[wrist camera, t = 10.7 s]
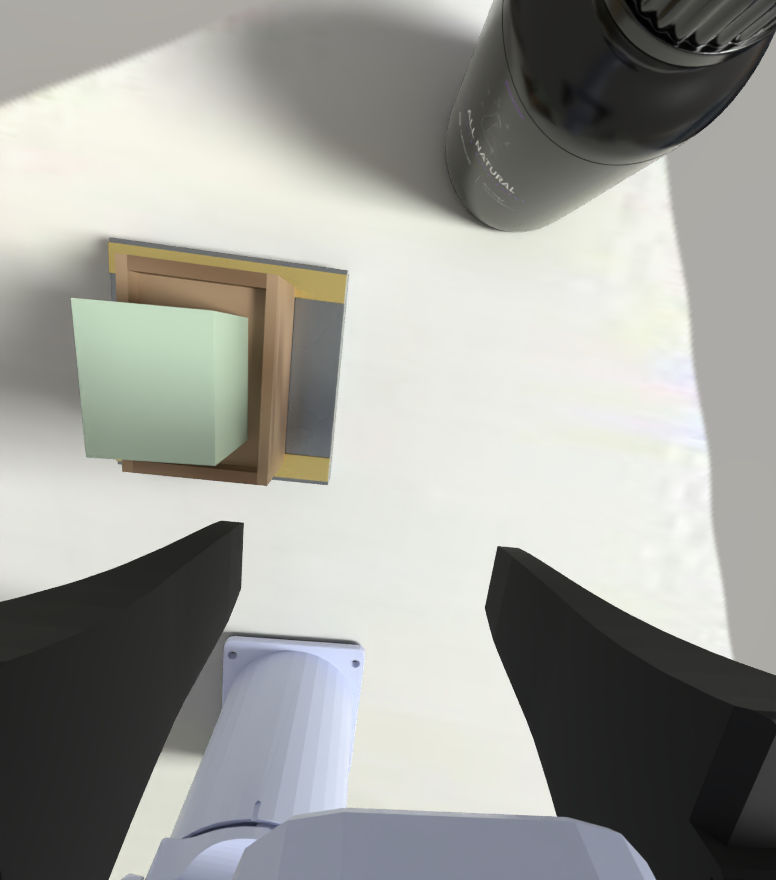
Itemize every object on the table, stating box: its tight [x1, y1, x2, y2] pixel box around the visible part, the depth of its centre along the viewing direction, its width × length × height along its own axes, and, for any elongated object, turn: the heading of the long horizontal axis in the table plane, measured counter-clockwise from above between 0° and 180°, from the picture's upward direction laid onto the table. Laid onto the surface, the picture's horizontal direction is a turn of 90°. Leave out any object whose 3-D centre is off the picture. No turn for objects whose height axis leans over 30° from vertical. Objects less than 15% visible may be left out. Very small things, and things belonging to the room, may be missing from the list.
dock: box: [108, 237, 349, 485], centre depth 19 cm, size 10×10×1 cm
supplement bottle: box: [446, 0, 776, 232], centre depth 12 cm, size 7×7×12 cm
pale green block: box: [71, 298, 248, 466], centre depth 14 cm, size 5×4×4 cm
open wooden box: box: [115, 253, 295, 486], centre depth 16 cm, size 8×6×3 cm
